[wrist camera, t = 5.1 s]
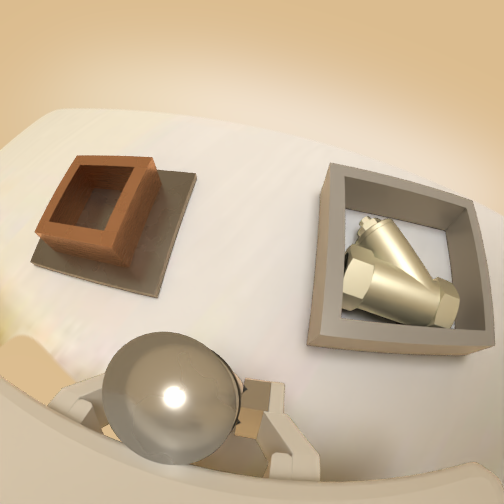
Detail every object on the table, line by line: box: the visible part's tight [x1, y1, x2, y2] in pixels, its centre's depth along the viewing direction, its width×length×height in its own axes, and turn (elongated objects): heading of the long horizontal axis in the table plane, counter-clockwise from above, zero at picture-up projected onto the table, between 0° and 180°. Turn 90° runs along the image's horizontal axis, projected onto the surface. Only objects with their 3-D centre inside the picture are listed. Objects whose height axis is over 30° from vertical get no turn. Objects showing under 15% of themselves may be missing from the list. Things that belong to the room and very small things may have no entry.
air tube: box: [102, 332, 243, 465], centre depth 11 cm, size 3×3×11 cm
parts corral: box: [307, 163, 495, 355], centre depth 17 cm, size 12×12×4 cm
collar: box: [31, 156, 197, 298], centre depth 19 cm, size 12×10×4 cm
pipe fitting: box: [342, 216, 460, 329], centre depth 17 cm, size 8×4×7 cm
